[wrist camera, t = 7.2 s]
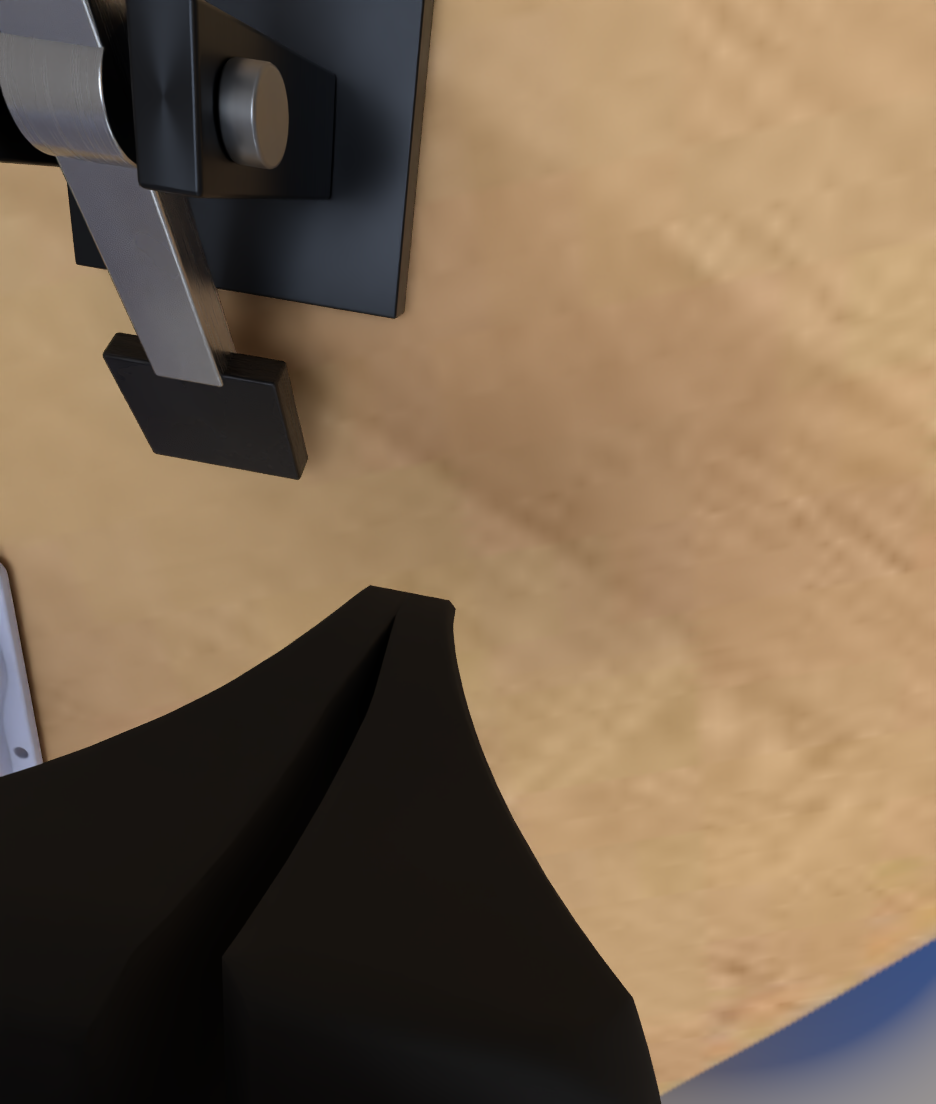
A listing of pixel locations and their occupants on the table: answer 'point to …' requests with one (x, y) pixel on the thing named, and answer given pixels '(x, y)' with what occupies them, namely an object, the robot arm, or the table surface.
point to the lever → (143, 246)
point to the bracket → (279, 140)
